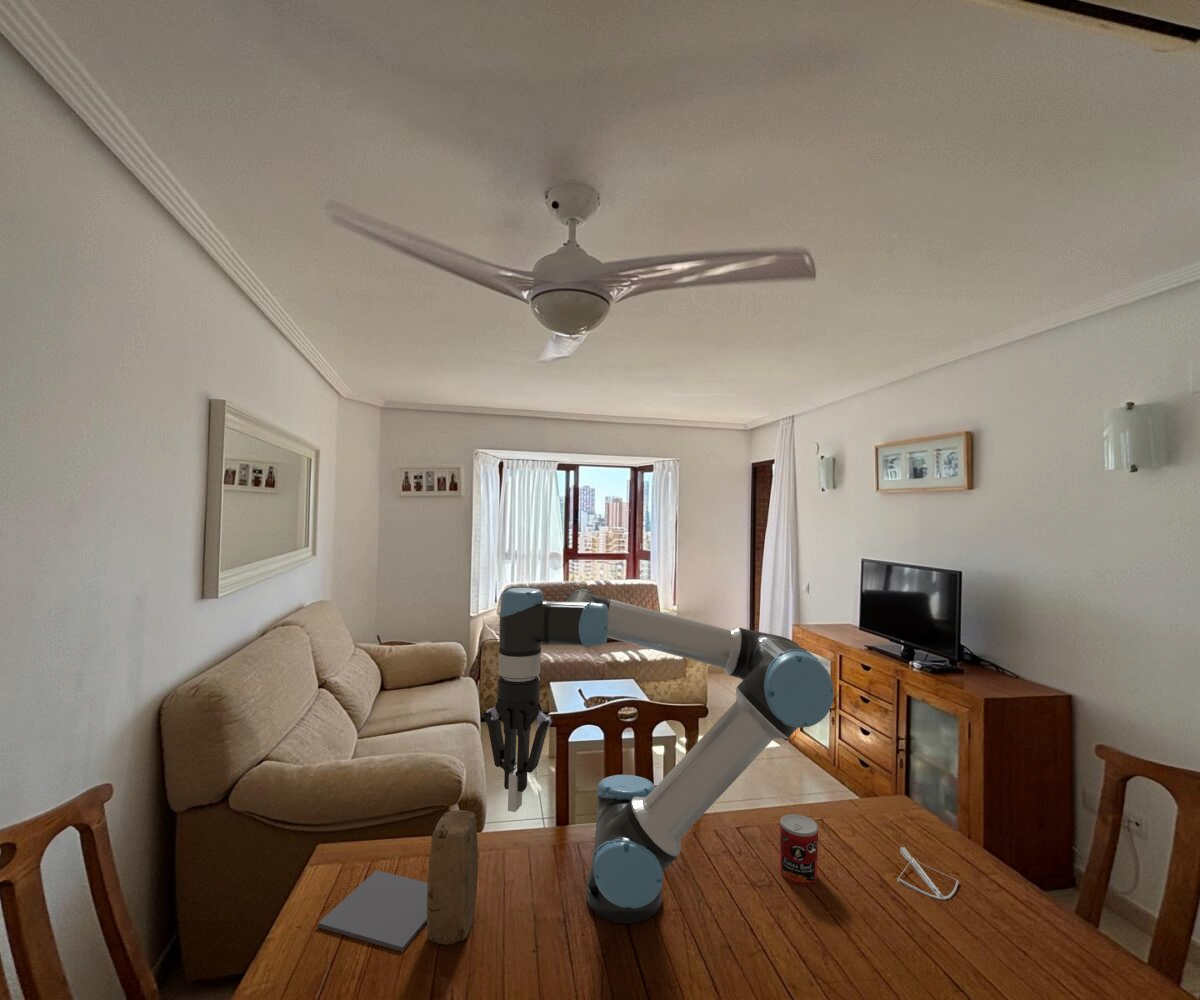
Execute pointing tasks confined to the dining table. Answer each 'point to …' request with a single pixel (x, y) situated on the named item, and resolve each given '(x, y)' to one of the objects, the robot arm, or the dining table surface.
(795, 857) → the canned food
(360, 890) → the mat
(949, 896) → the crossbow
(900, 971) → the dining table surface
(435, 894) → the block
